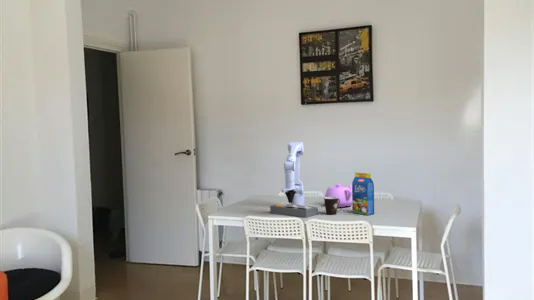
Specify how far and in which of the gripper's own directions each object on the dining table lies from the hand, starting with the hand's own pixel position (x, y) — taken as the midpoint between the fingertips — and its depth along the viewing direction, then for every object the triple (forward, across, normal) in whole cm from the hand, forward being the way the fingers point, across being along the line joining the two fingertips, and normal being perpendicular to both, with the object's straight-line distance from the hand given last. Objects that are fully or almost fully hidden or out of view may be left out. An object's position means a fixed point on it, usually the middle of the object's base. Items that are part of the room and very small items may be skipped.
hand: (290, 202), depth 294 cm
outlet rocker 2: (+3, +3, 0) cm, 4 cm away
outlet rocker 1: (+3, +3, +9) cm, 10 cm away
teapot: (+8, +41, -10) cm, 43 cm away
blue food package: (+8, +26, -36) cm, 45 cm away
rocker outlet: (+3, +3, -9) cm, 10 cm away
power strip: (+7, +3, 0) cm, 8 cm away
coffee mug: (+8, +16, -21) cm, 27 cm away
